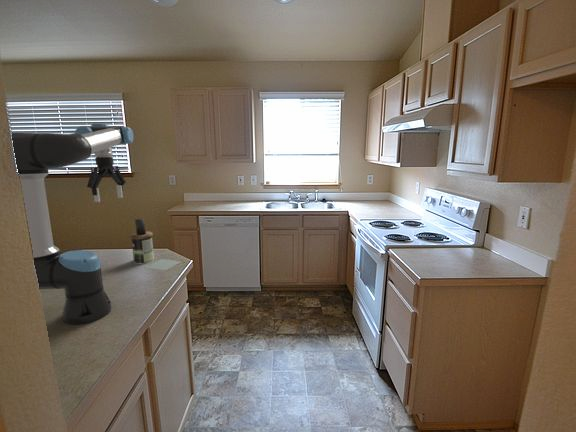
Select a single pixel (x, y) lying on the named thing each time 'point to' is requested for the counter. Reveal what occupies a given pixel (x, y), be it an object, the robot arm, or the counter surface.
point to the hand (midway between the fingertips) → (109, 199)
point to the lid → (140, 230)
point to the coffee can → (142, 250)
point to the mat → (163, 264)
